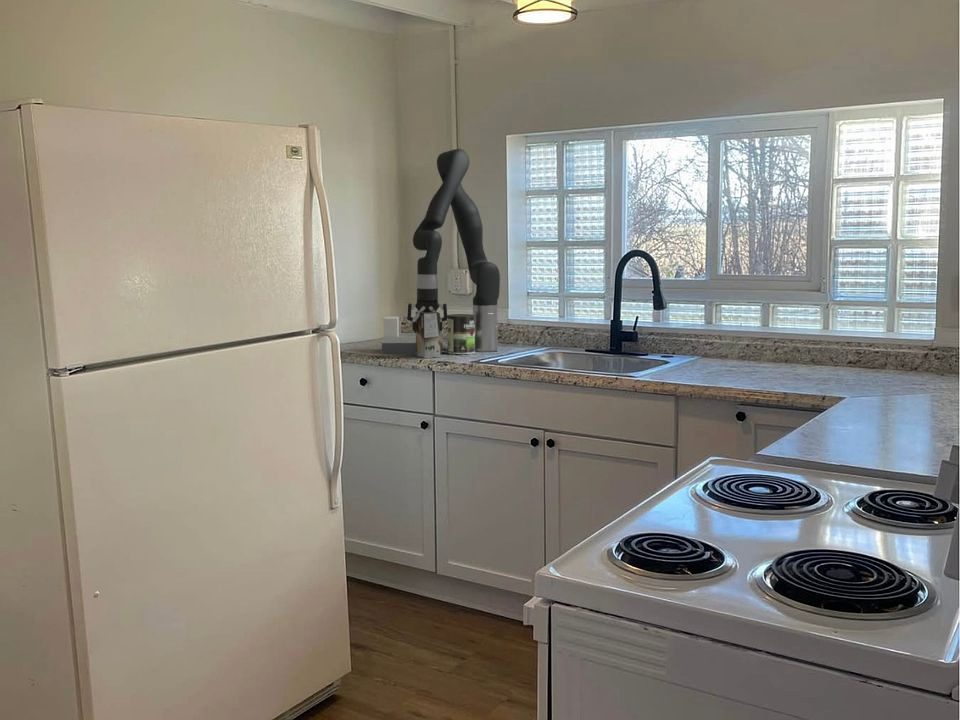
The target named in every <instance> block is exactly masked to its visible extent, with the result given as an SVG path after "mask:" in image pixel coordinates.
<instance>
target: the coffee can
mask: <svg viewBox="0 0 960 720" xmlns="http://www.w3.org/2000/svg"><path fill="white" fill-rule="evenodd" d="M448 353H449V354H448ZM475 353H476V351H475V315H473V314H468V313H466V314H465V313H456V314H454V313H453V314H447V354H448V355H455V354H462V355H461V356H464V355H465V354H468V355H475Z"/></svg>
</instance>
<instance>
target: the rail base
mask: <svg viewBox="0 0 960 720" xmlns="http://www.w3.org/2000/svg"><path fill="white" fill-rule="evenodd" d="M443 341H444V339H443V340H442V343H440V355H441V354H442V355H443V351H444V346H443V345H444V343H443ZM381 354H382V355H416V343H382V342H381Z"/></svg>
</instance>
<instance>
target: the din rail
mask: <svg viewBox="0 0 960 720" xmlns="http://www.w3.org/2000/svg"><path fill="white" fill-rule="evenodd" d="M442 340H443V341H444V339H443V332H440V343H442ZM382 343H416V333H414V332H408V333H406V332H405V333H404V332H399V337H384V336H382V337H381V344H382Z"/></svg>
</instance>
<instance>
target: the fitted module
mask: <svg viewBox="0 0 960 720" xmlns="http://www.w3.org/2000/svg"><path fill="white" fill-rule="evenodd" d="M399 324H400V317H399V316H389V315H388V316H384V317H383V337H399V333H400V325H399Z"/></svg>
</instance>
